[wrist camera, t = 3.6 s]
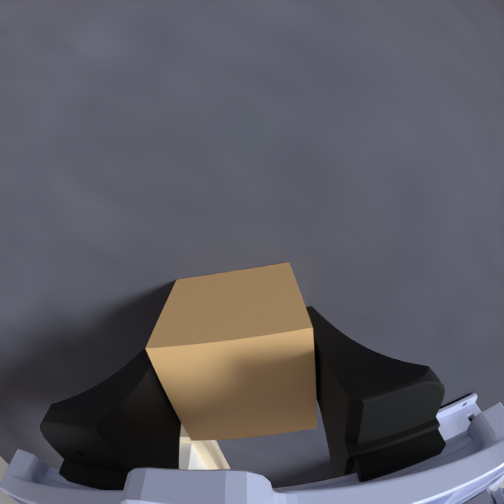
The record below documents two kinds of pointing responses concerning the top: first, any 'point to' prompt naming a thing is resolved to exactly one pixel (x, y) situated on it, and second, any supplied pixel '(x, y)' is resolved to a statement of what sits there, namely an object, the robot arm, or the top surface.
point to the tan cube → (237, 354)
